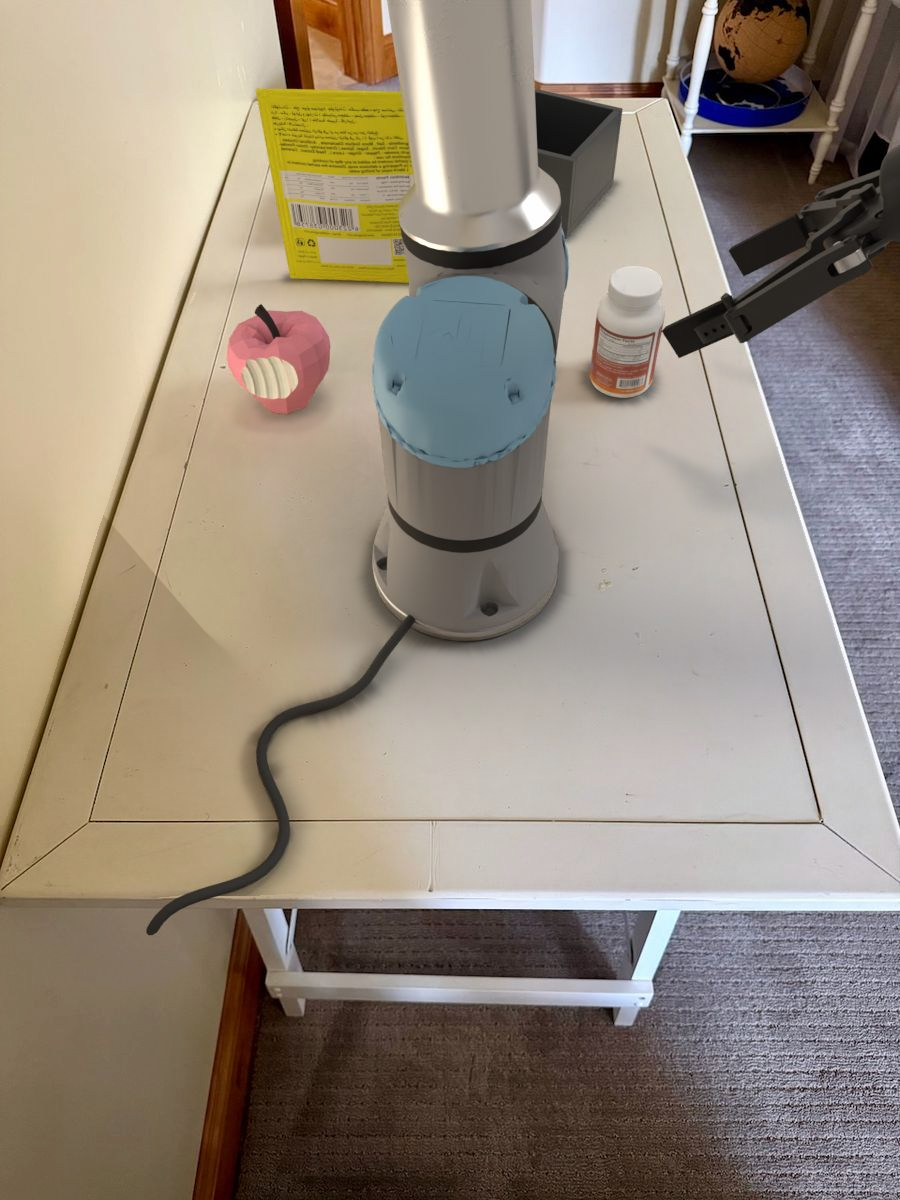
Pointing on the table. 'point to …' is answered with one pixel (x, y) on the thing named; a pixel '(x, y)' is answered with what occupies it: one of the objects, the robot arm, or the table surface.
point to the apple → (279, 357)
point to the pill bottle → (628, 332)
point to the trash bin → (577, 150)
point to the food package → (339, 180)
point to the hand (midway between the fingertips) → (705, 300)
